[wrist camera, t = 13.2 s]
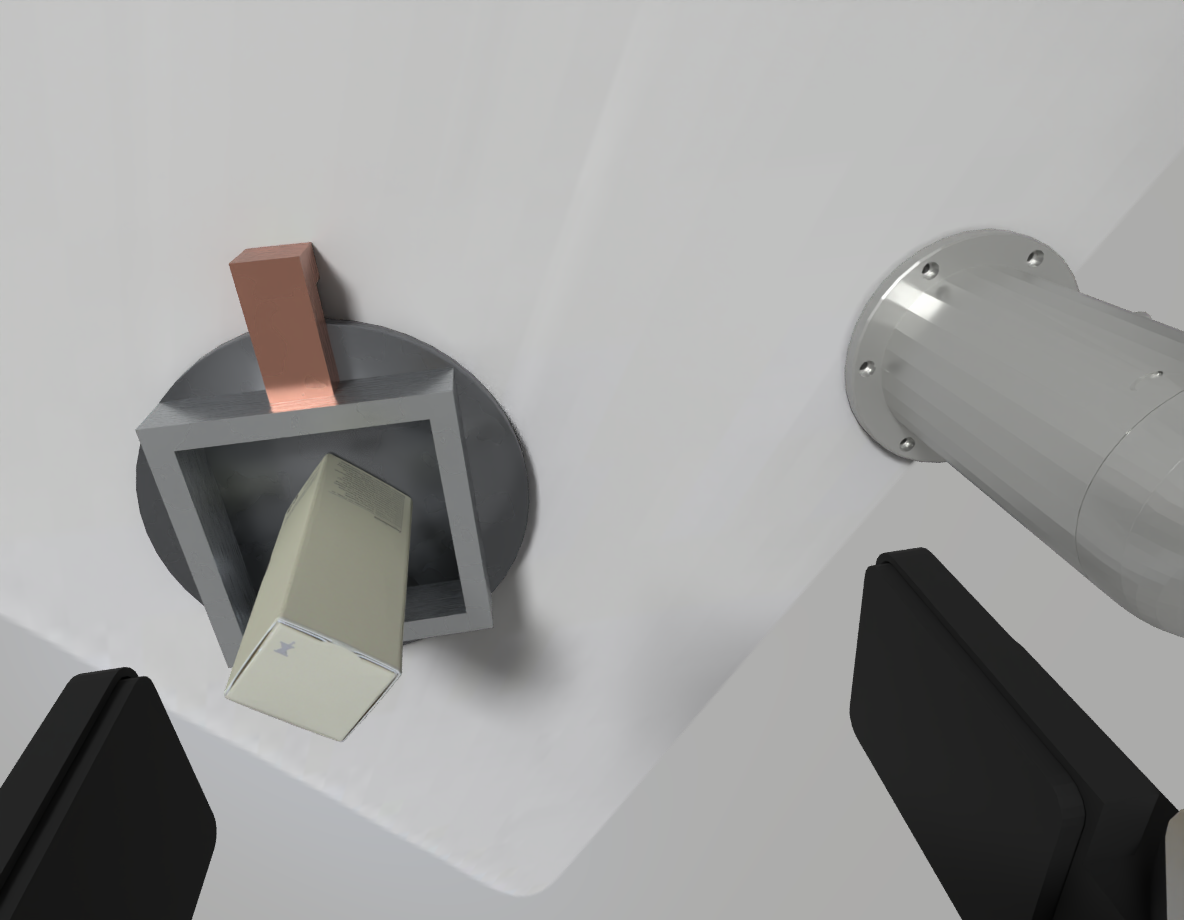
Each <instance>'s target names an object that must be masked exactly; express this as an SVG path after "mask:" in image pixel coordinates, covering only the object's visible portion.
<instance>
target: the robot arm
mask: <svg viewBox="0 0 1184 920" xmlns="http://www.w3.org/2000/svg"><path fill="white" fill-rule="evenodd" d="M924 266H925V267H924ZM923 268H924V269H923ZM862 364H863V365H862ZM861 365H862V366H861ZM845 380H846V392H847V395H848V399H849V402H850V406H851V409H852V411H853V413H854V415H855V416H856V418H857V420H858V422H859V424H860V425H861V426H862V427H863V428H864V430H865V431H866V432H867V433H868V434H869V435H870V436H871V437H872V438H873V439H874V440H875V441H877V442H878V443H879V444H880V445H882V446H883V447H884V448H885V449H886V450H888V451H890V452H892V453H894V454H896V455H898V456H900V457H903V458H907V459H911V460H915V461H919V462H936V463H937V462H938V463H940V462H948V463H949V464H950V465H952V466H953V467H954V468H955V469H956V470H957V471H959V472H960V473H961V474H962V475H963V476H965V477H966V478H967V479H968V480H969V481H971V482H972V483H973V484H974V485H976V486H977V487H978V488H979V489H980V490H981V491H983V492H984V493H985V494H986V495H987V496H989V497H990V498H991V499H992V500H994V501H995V502H996V503H997V504H998V505H1000V506H1001V507H1002V508H1003V509H1004V510H1006V511H1007V512H1008V513H1009V514H1010V515H1011V516H1013V517H1014V518H1015V519H1016V520H1017V521H1019V522H1020V523H1021V524H1022V525H1023V526H1025V527H1026V528H1027V529H1028V530H1029V531H1031V532H1032V533H1033V534H1034V535H1036V536H1037V537H1038V538H1039V539H1040V540H1041V541H1043V542H1044V543H1045V544H1046V545H1048V546H1049V547H1050V548H1051V549H1052V550H1053V551H1055V552H1056V553H1057V554H1058V555H1060V556H1061V557H1062V558H1063V559H1065V560H1066V561H1067V562H1068V563H1069V564H1070V565H1072V566H1073V567H1074V568H1075V569H1076V570H1078V571H1079V572H1080V573H1081V574H1082V575H1084V576H1085V577H1086V578H1087V579H1088V580H1090V581H1091V582H1092V583H1093V584H1094V585H1096V586H1097V587H1098V588H1099V589H1100V590H1102V591H1103V592H1104V593H1106V594H1107V595H1108V596H1109V597H1110V598H1111V599H1113V600H1114V601H1115V602H1116V603H1118V604H1119V605H1120V606H1121V607H1123V608H1124V609H1126V610H1127V611H1128V612H1130V613H1131V614H1133V615H1134V616H1136V617H1137V618H1139V619H1141V620H1143V621H1145V622H1146V623H1149V624H1150V625H1152V626H1154V627H1156V628H1159V629H1161V630H1163V631H1166V632H1169V633H1172V634H1174V635H1177V636H1180V637H1183V638H1184V331H1181V330H1179V329H1176V328H1173V327H1171V326H1168V325H1165V324H1163V323H1160V322H1157V321H1155V320H1152V318H1151V316H1150V315H1149V314H1147V313H1146V312H1131V311H1128V310H1126V309H1123V308H1120V307H1118V306H1115V305H1112V304H1110V303H1107V302H1104V301H1102V300H1099V299H1096V298H1094V297H1091V296H1088V295H1085V294H1083V293H1080V292H1079V289H1078V286H1077V283H1076V280H1075V277H1074V275H1073V273H1072V272H1071V270H1070V268H1069V267H1068V265H1067V264H1066V262H1065V261H1064V259H1063V258H1062V257H1061V256H1059V255H1058V254H1057V253H1056V252H1055V251H1054V250H1053V249H1052V248H1050V247H1049V246H1048V245H1046V244H1044V243H1042V242H1040V241H1038V240H1036V239H1034V238H1032V237H1029V236H1026V235H1022V234H1019V233H1016V232H1012V231H1006V230H996V229H982V230H973V231H966V232H962V233H959V234H956V235H953V236H949V237H946V238H943V239H941V240H939V241H937V242H935V243H933V244H931V245H929V246H927V247H925V248H923V249H922V250H920V251H918V252H917V253H916V254H914V255H913V256H912V257H910V258H909V259H908V260H906V261H905V262H903V263H902V264H901V265H899V266H898V267H897V268H896V269H895V270H894V271H893V272H892V273H891V274H890V275H889V276H888V277H887V278H886V279H885V280H884V282H883V283H882V284H881V285H880V286H879V288H878V289H877V290H876V292H875V293H874V294H873V296H872V297H871V298H870V300H869V301H868V303H867V304H866V306H865V308H864V310H863V312H862V313H861V315H860V317H859V319H858V321H857V323H856V325H855V328H854V331H853V334H852V337H851V340H850V343H849V346H848V351H847V358H846V365H845ZM850 719H851V723H852V727H853V730H854V733H855V735H856V737H857V739H858V740H859V742H860V744H861V746H862V747H863V749H864V751H865V752H866V754H867V756H868V757H869V759H870V761H871V763H872V765H873V766H874V768H875V770H876V771H877V773H878V775H879V777H880V778H881V780H882V782H883V784H884V785H885V787H886V789H887V791H888V792H889V794H890V796H891V797H892V799H893V801H894V803H895V804H896V806H897V808H898V810H899V811H900V813H901V815H902V817H903V818H904V820H905V822H906V823H907V825H908V827H909V829H910V830H911V832H912V834H913V836H914V837H915V839H916V841H917V842H918V844H919V846H920V848H921V849H922V851H923V853H924V855H925V856H926V858H927V860H928V861H929V863H930V865H931V867H932V868H933V870H934V872H935V874H936V875H937V877H938V879H939V881H940V882H941V884H942V886H943V887H944V889H945V891H946V893H947V894H948V896H949V898H950V900H951V901H952V903H953V905H954V907H955V908H956V910H957V911H958V913H959V915H960V917H961V919H962V920H1184V809H1182V810H1180V811H1178V810H1177V809H1176V808H1175V806H1173V804H1172V803H1171V802H1170V801H1169V800H1168V799H1167V798H1166V797H1165V796H1164V795H1163V794H1162V793H1161V792H1160V791H1159V790H1158V789H1157V788H1156V787H1155V785H1154V784H1153V783H1151V781H1150V780H1149V779H1148V778H1147V777H1146V776H1145V775H1144V774H1143V773H1142V772H1141V771H1140V770H1139V769H1138V768H1137V767H1136V766H1135V764H1134V763H1133V762H1132V761H1131V760H1130V759H1129V758H1128V757H1127V756H1126V755H1125V754H1124V753H1123V752H1122V751H1121V750H1120V749H1119V748H1118V747H1117V746H1116V744H1115V743H1114V742H1113V741H1112V740H1111V739H1110V738H1109V737H1108V736H1107V735H1106V734H1105V733H1104V732H1103V731H1102V730H1101V729H1100V728H1099V727H1098V725H1097V724H1096V723H1095V722H1094V721H1093V720H1092V719H1091V718H1090V717H1089V716H1088V715H1087V714H1086V713H1085V712H1084V711H1083V710H1082V709H1081V708H1080V707H1079V706H1078V705H1077V703H1076V702H1075V701H1073V699H1072V698H1071V697H1070V696H1069V695H1068V694H1067V693H1066V692H1065V691H1064V690H1063V689H1062V688H1061V687H1060V686H1059V685H1058V683H1057V682H1056V681H1055V680H1054V679H1053V678H1052V677H1051V676H1050V675H1049V674H1048V673H1047V672H1046V671H1045V670H1044V669H1043V668H1042V667H1041V666H1040V664H1038V662H1037V661H1036V660H1035V659H1034V658H1033V657H1032V656H1031V655H1030V654H1029V653H1028V652H1027V651H1026V650H1025V649H1024V648H1023V647H1022V646H1021V645H1020V644H1019V643H1017V642H1016V641H1015V640H1014V639H1013V638H1012V637H1011V636H1010V635H1009V634H1008V633H1007V632H1006V631H1005V630H1004V629H1003V628H1002V627H1001V626H1000V625H999V624H998V622H996V620H995V619H994V618H993V617H992V616H991V615H990V614H989V613H988V612H987V611H986V610H985V609H984V608H983V607H982V606H981V605H980V604H979V602H978V601H977V600H976V599H975V598H974V597H973V596H972V595H971V594H970V593H969V592H968V591H967V590H966V589H965V588H964V587H963V586H962V584H961V583H960V582H959V581H958V580H957V579H956V578H955V577H954V576H953V575H952V574H951V573H950V572H949V571H948V570H947V569H946V568H945V567H944V565H943V564H942V563H941V562H940V561H939V560H938V559H937V558H936V557H935V556H934V555H933V554H932V553H931V552H930V551H929V550H927V549H926V548H922V547H920V548H913V549H907V550H901V551H893V552H887V553H883V554H881V555H880V556H879V557H878V558H877V561H876V565H873V566H869V567H868V568H867V570H866V573H865V579H864V589H863V597H862V606H861V614H860V623H859V632H858V640H857V649H856V658H855V667H854V675H853V684H852V692H851V701H850ZM215 843H216V821H215V818H214V815H213V813H212V810H211V808H210V806H209V804H208V802H207V799H206V797H205V795H204V793H203V791H202V789H201V786H200V784H199V782H198V780H197V778H196V775H195V773H194V771H193V769H192V767H191V765H190V762H189V760H188V758H187V756H186V754H185V751H184V749H183V747H182V745H181V743H180V741H179V738H178V736H177V734H176V732H175V730H174V727H173V725H172V723H171V721H170V719H169V717H168V714H167V712H166V710H165V708H164V706H163V703H162V701H161V699H160V697H159V695H158V693H157V690H156V688H155V686H154V684H153V682H152V681H151V679H149V678H148V677H146V676H142V677H138V675H137V673H136V672H135V671H134V670H133V669H131V668H128V667H122V668H116V669H109V670H102V671H96V672H90V673H82V674H78V675H76V676H74V677H73V678H72V679H71V680H70V681H69V682H68V683H67V685H66V687H65V688H64V690H63V691H62V693H61V694H60V696H59V698H58V699H57V701H56V702H55V704H54V705H53V707H52V708H51V710H50V712H49V713H48V715H47V716H46V718H45V720H44V721H43V722H42V724H41V726H40V728H39V729H38V730H37V732H36V734H35V735H34V737H33V738H32V740H31V741H30V743H29V744H28V746H27V747H26V749H25V751H24V752H23V754H22V755H21V757H20V759H19V760H18V762H17V763H16V765H15V766H14V768H13V769H12V771H11V773H10V774H9V776H8V777H7V779H6V780H5V782H4V783H3V785H2V787H1V788H0V920H192V917H193V913H194V911H195V907H196V904H197V901H198V898H199V895H200V892H201V889H202V886H203V883H204V879H205V876H206V873H207V870H208V867H209V864H210V861H211V858H212V854H213V851H214V847H215Z"/></svg>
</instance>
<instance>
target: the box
mask: <svg viewBox="0 0 1184 920" xmlns="http://www.w3.org/2000/svg"><path fill="white" fill-rule="evenodd" d="M412 509H413V501H412V499H411V498H410V497H408V496H407V495H405V494H403V493H402V492H400V491H398V490H397V489H395V488H393V487H392V486H390V485H388V484H386V483H384V482H383V481H381V480H379V479H377V478H375V477H374V476H372V475H370V474H368V473H366V472H364V471H363V470H361V469H359V468H357V467H355V466H353V465H352V464H350V463H348V462H346V461H344V460H342V459H340V458H338V457H336V456H334V455H332V454H329V453H328V454H326V455H325V456H324V458H323V459H322V460H321V462H320V463H319V464H318V466H317V467H316V469H315V470H314V471H313V473H312V474H311V476H310V477H309V478H308V480H307V481H306V483H305V484H304V486H303V487H302V489H301V490H300V492H299V493H298V495H297V496H296V498H295V499H294V501H293V502H292V504H291V505H290V507H289V509H288V510H287V512H286V514H285V517H284V520H283V523H282V526H281V529H280V532H279V535H278V538H277V541H276V543H275V546H274V549H273V552H272V555H271V558H270V561H269V564H268V567H267V569H266V573H265V576H264V578H263V581H262V584H261V586H260V589H259V592H258V595H257V598H256V601H255V604H254V607H253V610H252V613H251V616H250V618H249V621H248V624H247V627H246V630H245V633H244V636H243V638H242V641H241V644H240V648H239V651H238V653H237V656H236V659H235V662H234V665H233V668H232V671H231V674H230V677H229V680H228V683H227V686H226V689H225V692H224V696H225V698H227V699H229V700H231V701H233V702H236V703H238V704H241V705H243V706H246V707H248V708H250V709H253V710H255V711H258V712H261V713H263V714H266V715H268V716H271V717H273V718H276V719H278V720H281V721H284V722H286V723H289V724H291V725H294V726H296V727H299V728H302V729H305V730H307V731H310V732H313V733H316V734H319V735H321V736H324V737H327V738H330V739H333V740H336V741H339V742H343V741H345V740H346V739H347V738H348V736H349V735H350V734H351V733H352V732H353V730H354V729H355V728H356V727H357V726H358V725H359V724H360V723H361V722H362V721H363V720H364V719H365V718H366V716H367V715H368V714H369V713H370V711H371V710H372V709H373V708H374V707H375V706H376V705H377V704H378V703H379V701H380V700H381V699H382V698H383V697H384V695H385V694H386V693H387V692H388V691H389V689H390V688H391V687H392V686H393V685H394V683H395V682H396V681H397V680H398V678H399V677H400V676H401V674H402V650H403V634H404V619H405V604H406V591H407V576H408V562H409V549H410V535H411V522H412Z"/></svg>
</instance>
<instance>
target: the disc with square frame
mask: <svg viewBox="0 0 1184 920" xmlns="http://www.w3.org/2000/svg"><path fill="white" fill-rule="evenodd" d="M229 266H230V270H231V273H232V277H233V280H234V283H235V287H236V290H237V294H238V297H239V300H240V304H241V307H242V310H243V314H244V317H245V321H246V324H247V327H248V331H249V332H247V333H245V334H242V335H240V336H238V337H236V338H234V339H232V340H230V341H228V342H226V343H223V344H221V345H220V346H218V347H217V348H215V349H214V350H212V351H211V352H209V353H208V354H206V355H205V356H203V357H202V358H200V359H199V360H198V361H197V362H196V363H195V364H194V365H193V366H191V367H190V368H189V369H188V370H187V371H186V372H185V373H184V374H183V375H182V376H181V377H180V378H179V379H178V380H177V381H176V382H175V383H174V385H173V386H172V387H171V388H170V390H169V391H168V392H167V393H166V395H165V396H164V397H163V398H162V400H161V401H160V402H159V404H158V405H157V406H156V407H155V409H154V410H153V411H152V412H151V413H150V414H149V415H148V416H147V418H146V419H145V420H144V421H143V422H142V423H141V424H140V425H139V426H138V428H137V429H136V433H137V436H138V438H139V441H140V443H141V444H140V449H139V454H138V460H137V466H136V491H137V497H138V503H139V509H140V514H141V517H142V520H143V523H144V526H145V529H146V532H147V534H148V536H149V538H150V540H151V542H152V544H153V546H154V548H155V550H156V552H157V554H158V556H159V557H160V558H161V560H162V561H163V563H164V564H165V566H166V567H167V569H168V570H169V572H170V573H171V574H172V575H173V576H174V577H175V578H176V580H177V581H178V582H179V583H180V584H181V585H182V586H183V587H184V589H185V590H186V591H188V592H189V593H190V594H191V595H192V596H193V597H194V598H196V599H197V600H198V601H199V602H200V603H201V604H202V605H204V607H205V609H206V612H207V614H208V617H209V619H210V622H211V624H212V627H213V630H214V632H215V635H216V637H217V640H218V642H219V645H220V647H221V650H222V653H223V655H224V658H225V660H226V663H227V665H228V668H232V667H233V665H234V662H235V659H236V656H237V653H238V651H239V648H240V644H241V641H242V638H243V636H244V633H245V630H246V627H247V624H248V621H249V618H250V616H251V613H252V610H253V607H254V604H255V601H256V598H257V595H258V592H259V589H260V586H261V584H262V581H263V578H264V576H265V573H266V569H267V567H268V564H269V561H270V558H271V555H272V552H273V549H274V546H275V543H276V541H277V538H278V535H279V532H280V529H281V526H282V523H283V520H284V517H285V514H286V512H287V510H288V509H289V507H290V505H291V504H292V502H293V501H294V499H295V498H296V496H297V495H298V493H299V492H300V490H301V489H302V487H303V486H304V484H305V483H306V481H307V480H308V478H309V477H310V476H311V474H312V473H313V471H314V470H315V469H316V467H317V466H318V464H319V463H320V462H321V460H322V459H323V458H324V456H325V455H326V454H328V453H329V454H332V455H334V456H336V457H338V458H340V459H342V460H344V461H346V462H348V463H350V464H352V465H353V466H355V467H357V468H359V469H361V470H363V471H364V472H366V473H368V474H370V475H372V476H374V477H375V478H377V479H379V480H381V481H383V482H384V483H386V484H388V485H390V486H392V487H393V488H395V489H397V490H398V491H400V492H402V493H403V494H405V495H407V496H408V497H410V498H411V499H412V501H413V509H412V522H411V535H410V549H409V562H408V576H407V591H406V604H405V619H404V634H403V645H404V644H408V643H411V642H414V641H417V640H420V639H423V638H429V637H435V636H442V635H448V634H455V633H461V632H468V631H474V630H481V629H488V628H493V615H492V594H491V593H492V592H493V591H494V590H495V588H496V587H497V586H498V585H499V583H500V582H501V581H502V580H503V578H504V577H505V575H506V574H507V572H508V570H509V569H510V567H511V565H512V564H513V562H514V560H515V558H516V555H517V553H518V551H519V548H520V546H521V543H522V541H523V537H524V533H525V529H526V525H527V518H528V508H529V492H528V479H527V472H526V467H525V462H524V457H523V453H522V450H521V447H520V444H519V441H518V439H517V436H516V433H515V431H514V429H513V427H512V425H511V423H510V422H509V420H508V418H507V416H506V414H505V412H504V411H503V409H502V408H501V407H500V405H499V404H498V403H497V401H496V400H495V398H494V397H493V396H492V394H491V393H490V392H489V391H488V390H487V389H486V388H485V387H484V386H483V385H482V384H481V383H480V382H479V380H478V379H477V378H476V377H475V376H474V375H473V374H471V373H470V372H469V371H468V370H466V369H465V368H464V367H463V366H461V365H460V364H459V363H458V362H456V361H455V360H454V359H452V358H451V357H449V356H447V355H446V354H444V353H443V352H441V351H439V350H438V349H436V348H434V347H433V346H431V345H429V344H427V343H425V342H422V341H420V340H418V339H416V338H414V337H412V336H409V335H407V334H404V333H401V332H398V331H395V330H392V329H389V328H385V327H382V326H378V325H373V324H368V323H363V322H357V321H349V320H336V319H325V318H324V314H323V310H322V306H321V302H320V298H319V294H318V289H317V285H316V283H317V282H318V280H319V279H320V276H319V272H318V268H317V264H316V260H315V256H314V252H313V247H312V243H311V242H309V243H299V244H290V245H280V246H270V247H260V248H251V249H245V250H244V251H243V252H242V253H241V254H240V255H238V256H237V257H236V258H235V259H234V260H233V261H231V262H230V263H229Z"/></svg>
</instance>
